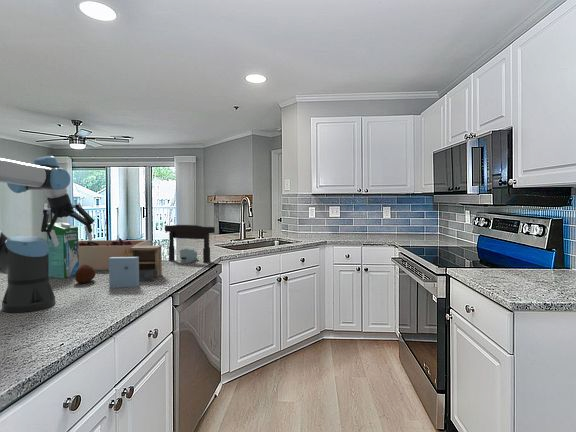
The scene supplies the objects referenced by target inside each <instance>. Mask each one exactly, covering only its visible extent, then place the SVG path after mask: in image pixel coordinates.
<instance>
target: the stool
mask: <svg viewBox="0 0 576 432" xmlns="http://www.w3.org/2000/svg"><path fill="white" fill-rule="evenodd" d="M215 230H216V229H215V226H202V225H197V224H173V225H164V231H165V233H166V232H167V233H169V234H168V235H169V239H168V241H169V245H168V261H172V262H173V261H175V258H176V257H175V256H176V255H175V254H176V253H175V246H174V245H175V242H174V241H175V240H174V239H189V240H203V248H202V250H203V253H202V256H203V257H202V259H203V260H202V261H203V263H209V262H211V247H210V234H214V233H215ZM179 258H180V263H181V264H187V263H189V264H190V263H191V262H192V263H193V262H195V261H196V262H197V261H198V260H199V259H198V252H197V251H196V250H195V249H194V248H190V247H188V248H183V249H180V250H179Z"/></svg>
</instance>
